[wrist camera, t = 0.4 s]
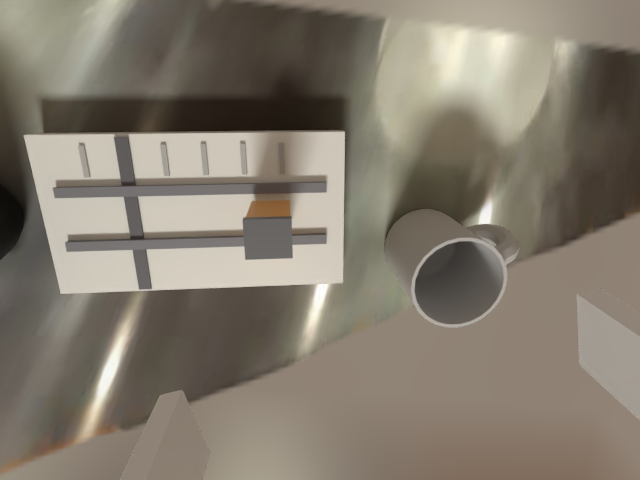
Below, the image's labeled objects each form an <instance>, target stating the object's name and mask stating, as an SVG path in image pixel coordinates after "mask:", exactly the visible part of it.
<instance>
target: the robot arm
mask: <svg viewBox="0 0 640 480" xmlns="http://www.w3.org/2000/svg"><path fill="white" fill-rule="evenodd" d="M577 310H578V311H577V313H578V338H579V339H578V340H579V364H580V366H581V367H583V368H584V369H585V370H586V371H587V372H588V373H589V374H590V375H591V376H592V377H593V378H595V379H596V380H597V381H598V382H599V383H600V384H601V385H602V386H603V387H604V388H605V389H607V390H608V391H609V392H610V393H611V394H612V395H613V396H614V397H615V398H616V399H617V400H618V401H620V402H621V403H622V404H623V405H624V406H625V407H626V408H627V409H628V410H629V411H630V412H632V413H633V414H634V415H635V416H636V417H637V418H638V419H639V420H640V312H639V311H637V310H636V309H634V308H632V307H631V306H629V305H627V304H626V303H624V302H622V301H621V300H619V299H617V298H616V297H614V296H612V295H611V294H609V293H607V292H605V291H604V290H602V289H596V290H592V291H588V292H584V293H580V294H577ZM209 454H210V451H209V449H208V447H207V445H206V442H205V440H204V438H203V435H202V433H201V431H200V429H199V426H198V424H197V422H196V420H195V417H194V415H193V413H192V410H191V408H190V406H189V404H188V401H187V399H186V397H185V395H184V392H183V390H179V391H175V392H171V393H167V394H163V395H160V396H159V398H158V400H157V403H156V405H155V407H154V409H153V411H152V413H151V415H150V417H149V419H148V421H147V423H146V425H145V428H144V430H143V432H142V434H141V436H140V438H139V440H138V442H137V444H136V446H135V448H134V451H133V452H132V455H131V457H130V459H129V461H128V463H127V465H126V467H125V469H124V471H123V473H122V475H121V478H120V479H119V480H203V477H204V473H205V469H206V466H207V461H208V458H209Z"/></svg>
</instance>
